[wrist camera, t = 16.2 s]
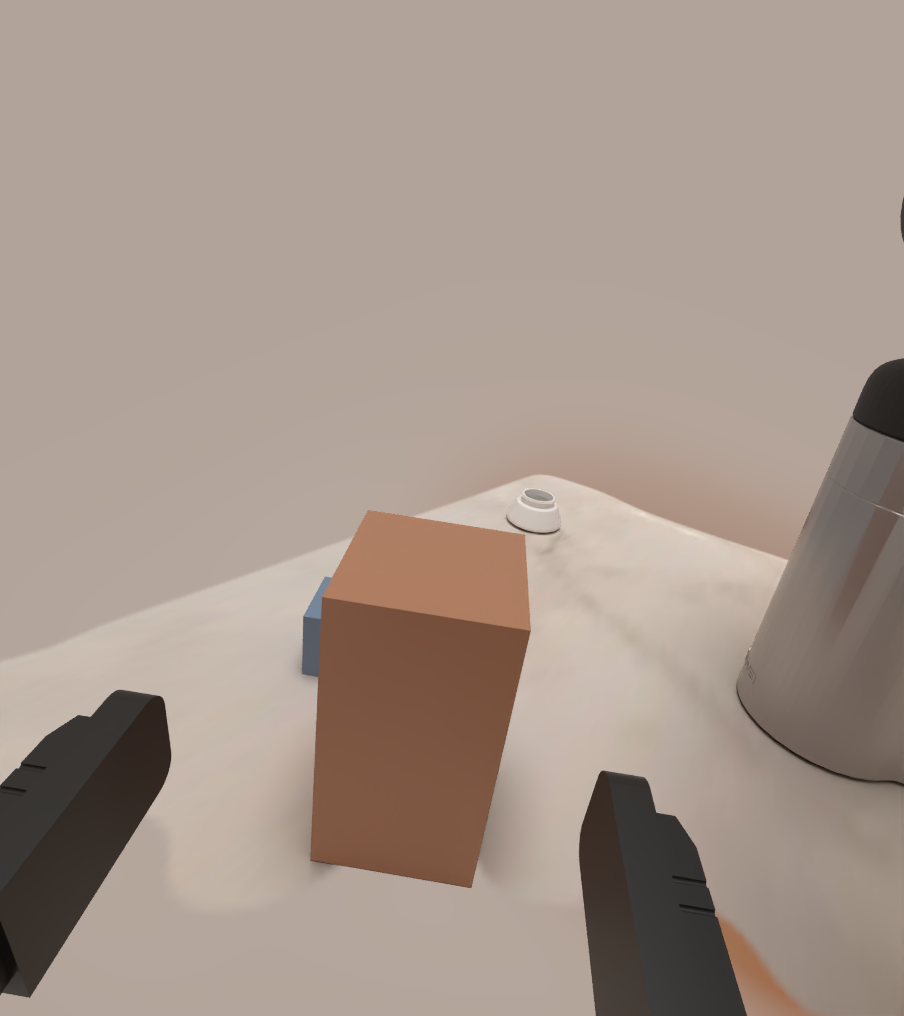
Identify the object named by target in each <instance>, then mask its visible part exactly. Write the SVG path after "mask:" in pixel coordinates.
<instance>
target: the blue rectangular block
mask: <svg viewBox="0 0 904 1016" xmlns="http://www.w3.org/2000/svg"><path fill="white" fill-rule="evenodd" d="M331 579H332V578H329V577H325V578H324V580H323V581H322V583H321V585H320V587H319V589H318V591H317V592H316V594H315V596H314V598H313V600H312V602H311V603H310V605H309V607H308V609H307V611H306V613H305V615H304V616H303V661H302V674H305V675H311V676H317V677H318V676H319V652H320V629H321V606H322V596H323V594H324V592H325V590H326V588H327V586H328V585H329V583H330V581H331Z"/></svg>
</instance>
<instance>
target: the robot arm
mask: <svg viewBox="0 0 904 1016" xmlns="http://www.w3.org/2000/svg"><path fill="white" fill-rule="evenodd" d="M901 233H902V238H903V241H904V198H903V203H902V210H901ZM737 691H738V693H739V696H740V699H741V702H742V703H743V705H744V706H745V708H746V709H747V711H748V712H749V714H750V715H751V716H752V717H753V718H754V719H755V721H756V722H757V723H758V724H759V725H760V726H761V727H762V728H763V729H764V730H765V731H767V732H768V733H769V734H770V735H771V736H772V737H773V738H775V739H776V740H777V741H779V742H780V743H782V744H783V745H784V746H786V747H787V748H789V749H790V750H792V751H793V752H795V753H797V754H798V755H800V756H802V757H804V758H806V759H807V760H809V761H811V762H813V763H815V764H817V765H820V766H822V767H824V768H827V769H829V770H831V771H834V772H837V773H840V774H844V775H847V776H850V777H854V778H860V779H866V780H892V781H897V782H900V783H903V784H904V359H898V360H894V361H890V362H887V363H885V364H883V365H881V366H879V367H878V368H877V369H875V370H874V372H873V373H872V374H871V375H870V377H869V378H868V380H867V382H866V384H865V386H864V388H863V390H862V392H861V395H860V397H859V399H858V402H857V404H856V406H855V409H854V411H853V416H851V418H850V420H849V422H848V425H847V427H846V429H845V431H844V434H843V436H842V439H841V441H840V443H839V445H838V448H837V450H836V452H835V455H834V457H833V459H832V462H831V464H830V466H829V468H828V471H827V473H826V475H825V478H824V480H823V482H822V485H821V487H820V489H819V492H818V494H817V496H816V498H815V501H814V503H813V506H812V508H811V510H810V512H809V515H808V517H807V519H806V521H805V524H804V526H803V529H802V531H801V533H800V535H799V538H798V540H797V543H796V545H795V547H794V549H793V552H792V554H791V556H790V558H789V561H788V563H787V565H786V568H785V570H784V572H783V575H782V577H781V579H780V581H779V584H778V586H777V588H776V591H775V593H774V595H773V598H772V600H771V602H770V605H769V607H768V609H767V611H766V614H765V616H764V618H763V621H762V623H761V625H760V628H759V630H758V632H757V635H756V637H755V639H754V642H753V644H752V646H751V647H750V649H749V651H748V653H747V656H746V659H745V663H744V665H743V668H742V670H741V672H740V675H739V677H738V680H737ZM170 763H171V748H170V740H169V732H168V725H167V717H166V709H165V703H164V700H163V698H162V697H160V696H156V695H150V694H144V693H138V692H131V691H125V690H117V691H115V692H113V693H112V694H111V695H110V696H109V697H108V698H107V699H106V700H105V701H104V702H103V703H102V705H101V706H100V707H99V708H98V709H97V710H96V711H95V713H94V714H93V715H92V716H91V717H87V716H81V715H78V716H76V717H75V718H73V719H72V720H70V721H69V722H67V723H65V724H64V725H62V726H61V727H59V728H58V729H56V730H55V731H53V732H52V733H50V734H48V735H47V736H46V737H45V738H44V739H43V740H42V741H41V742H40V743H39V744H38V745H37V746H36V747H35V748H34V750H33V751H32V752H31V753H30V754H29V755H28V756H27V757H26V758H25V759H24V760H23V761H22V762H21V766H20V768H19V769H17V768H16V769H15V770H14V771H13V772H12V773H11V774H10V775H9V776H8V778H7V779H6V780H5V781H4V782H3V783H2V784H1V785H0V995H1V993H7V994H13V995H18V996H24V997H29V998H30V996H31V995H32V993H33V992H34V990H35V989H36V987H37V985H38V984H39V982H40V981H41V979H42V978H43V976H44V974H45V973H46V971H47V969H48V968H49V966H50V965H51V963H52V962H53V960H54V958H55V957H56V955H57V954H58V952H59V951H60V949H61V947H62V946H63V944H64V943H65V941H66V939H67V938H68V936H69V935H70V933H71V932H72V930H73V928H74V927H75V925H76V924H77V922H78V920H79V919H80V917H81V916H82V914H83V912H84V911H85V909H86V908H87V906H88V904H89V903H90V901H91V900H92V898H93V897H94V895H95V893H96V892H97V890H98V889H99V887H100V886H101V884H102V882H103V881H104V879H105V878H106V876H107V874H108V873H109V871H110V870H111V868H112V866H113V865H114V863H115V862H116V860H117V858H118V857H119V855H120V854H121V852H122V851H123V849H124V848H125V846H126V844H127V843H128V841H129V840H130V838H131V836H132V835H133V833H134V832H135V830H136V828H137V827H138V825H139V824H140V822H141V821H142V819H143V817H144V816H145V814H146V813H147V811H148V809H149V808H150V806H151V805H152V803H153V802H154V800H155V798H156V797H157V795H158V794H159V792H160V790H161V789H162V787H163V785H164V782H165V780H166V777H167V775H168V771H169V768H170ZM579 861H580V871H581V881H582V890H583V899H584V909H585V918H586V927H587V936H588V945H589V955H590V964H591V973H592V983H593V992H594V1001H595V1011H596V1016H747V1014H746V1011H745V1008H744V1004H743V1001H742V998H741V995H740V991H739V988H738V984H737V981H736V978H735V974H734V971H733V968H732V964H731V961H730V958H729V955H728V951H727V948H726V945H725V942H724V938H723V935H722V932H721V928H720V925H719V921H718V918H717V917H715V908H714V905H713V901H712V898H711V895H710V891H709V888H707V887H706V878H705V875H704V871H703V868H702V865H701V861H700V858H699V855H698V851H697V848H696V846H695V845H694V843H693V842H692V840H691V839H690V837H689V836H688V834H687V833H686V831H685V830H684V828H683V827H682V825H681V824H680V822H679V821H678V819H677V818H676V816H672V815H666V814H660V813H656V810H655V806H654V802H653V798H652V794H651V790H650V786H649V784H648V781H647V780H646V779H645V778H644V777H639V776H633V775H627V774H621V773H615V772H608V771H601V772H600V774H599V776H598V779H597V782H596V785H595V788H594V791H593V794H592V797H591V800H590V803H589V806H588V809H587V812H586V815H585V818H584V821H583V824H582V828H581V833H580V843H579Z"/></svg>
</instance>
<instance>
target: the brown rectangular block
mask: <svg viewBox="0 0 904 1016" xmlns="http://www.w3.org/2000/svg"><path fill="white" fill-rule="evenodd" d="M530 631H531V629H530V612H529V596H528V579H527V563H526V546H525V535H522V534H516V533H510V532H503V531H497V530H491V529H484V528H478V527H472V526H465V525H459V524H453V523H446V522H440V521H433V520H427V519H421V518H414V517H408V516H401V515H395V514H389V513H382V512H376V511H370V510H369V511H367V514H366V515H365V517H364V519H363V521H362V523H361V525H360V526H359V528H358V530H357V532H356V534H355V536H354V538H353V540H352V541H351V543H350V545H349V547H348V549H347V551H346V553H345V555H344V556H343V558H342V560H341V562H340V564H339V566H338V568H337V570H336V571H335V573H334V575H333V577H332V579H331V581H330V583H329V585H328V586H327V588H326V590H325V592H324V594H323V596H322V606H321V629H320V652H319V676H318V699H317V722H316V745H315V768H314V791H313V814H312V837H311V860H313V861H318V862H324V863H330V864H336V865H341V866H347V867H353V868H359V869H364V870H370V871H376V872H382V873H388V874H393V875H399V876H405V877H411V878H416V879H422V880H428V881H434V882H439V883H445V884H451V885H456V886H463V887H468V888H471V887H472V883H473V878H474V874H475V870H476V865H477V861H478V857H479V852H480V848H481V844H482V839H483V835H484V831H485V826H486V822H487V818H488V813H489V809H490V805H491V800H492V796H493V792H494V787H495V783H496V779H497V774H498V770H499V766H500V761H501V757H502V753H503V748H504V744H505V740H506V735H507V731H508V727H509V722H510V718H511V713H512V709H513V705H514V700H515V696H516V692H517V687H518V683H519V679H520V674H521V670H522V666H523V661H524V657H525V653H526V648H527V644H528V640H529V635H530Z"/></svg>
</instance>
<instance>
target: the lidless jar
mask: <svg viewBox="0 0 904 1016" xmlns="http://www.w3.org/2000/svg"><path fill="white" fill-rule="evenodd" d="M506 516H507V518H508V520H509V521H510V522H512V523H513V524H514V525H516V526H517V527H519V528H522V529H524V530H527V531H531V532H537V533H547V532H553V531H556V530H557V529H559V528H560V524H561V518H560V514H559V510H558V506H557V505H556V503H555V496H554V495H553V494H551V493H550V492H547V491H545V490H541V489H535V488H529V489H525V490H523V492H522V494H521V496H519V497H517V499H516V500H515V501H514V502H513V504H512V505H511V506H510V507H509V509H508V511H507V515H506Z"/></svg>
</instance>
